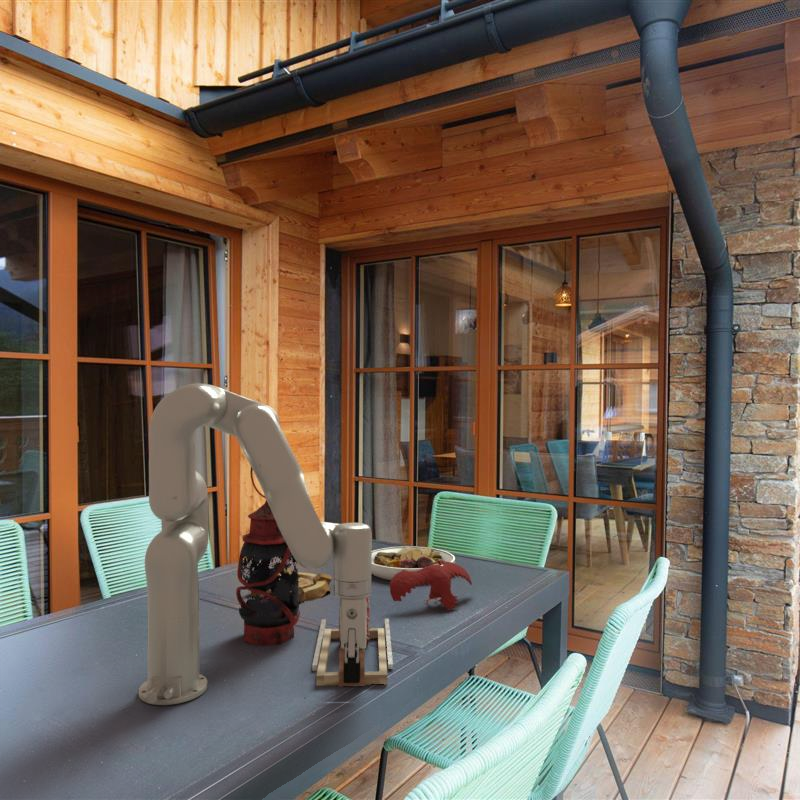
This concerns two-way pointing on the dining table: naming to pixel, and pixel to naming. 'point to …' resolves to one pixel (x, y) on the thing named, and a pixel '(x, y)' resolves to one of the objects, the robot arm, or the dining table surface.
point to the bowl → (406, 560)
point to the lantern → (267, 581)
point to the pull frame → (338, 677)
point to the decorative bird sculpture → (429, 574)
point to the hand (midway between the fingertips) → (352, 677)
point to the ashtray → (309, 585)
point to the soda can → (367, 622)
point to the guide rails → (320, 640)
